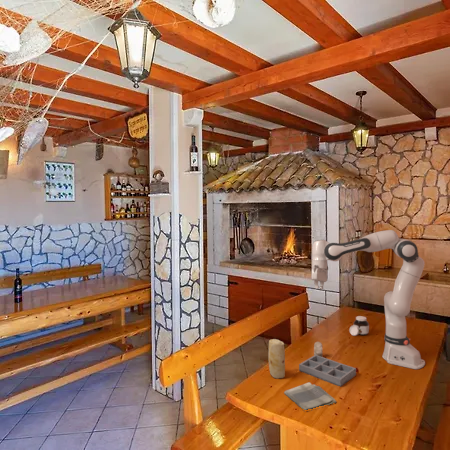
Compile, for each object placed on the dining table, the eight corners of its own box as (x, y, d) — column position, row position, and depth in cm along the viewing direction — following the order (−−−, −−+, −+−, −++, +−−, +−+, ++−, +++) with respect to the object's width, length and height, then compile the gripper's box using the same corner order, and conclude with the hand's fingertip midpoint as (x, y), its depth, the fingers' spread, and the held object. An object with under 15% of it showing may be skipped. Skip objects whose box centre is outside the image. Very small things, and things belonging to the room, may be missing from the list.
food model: (287, 376, 196) (287, 340, 195) (281, 381, 191) (281, 344, 189) (271, 371, 202) (271, 336, 200) (265, 376, 196) (265, 340, 195)
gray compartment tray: (355, 375, 196) (355, 368, 195) (340, 386, 184) (340, 379, 183) (315, 361, 213) (315, 354, 213) (299, 370, 202) (299, 364, 201)
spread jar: (369, 333, 255) (369, 317, 254) (366, 338, 246) (366, 322, 245) (352, 330, 262) (352, 314, 261) (348, 335, 252) (348, 319, 251)
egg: (323, 357, 218) (323, 341, 218) (319, 359, 215) (319, 344, 214) (316, 354, 222) (316, 339, 221) (312, 357, 218) (312, 342, 218)
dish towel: (305, 413, 162) (305, 407, 162) (283, 394, 179) (283, 388, 178) (337, 403, 170) (337, 397, 169) (314, 386, 186) (314, 380, 186)
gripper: (319, 264, 211) (319, 288, 209) (329, 267, 228) (328, 289, 226) (308, 264, 215) (308, 287, 212) (319, 267, 232) (319, 289, 229)
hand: (319, 288), depth 219 cm, fingers open, 8 cm apart
